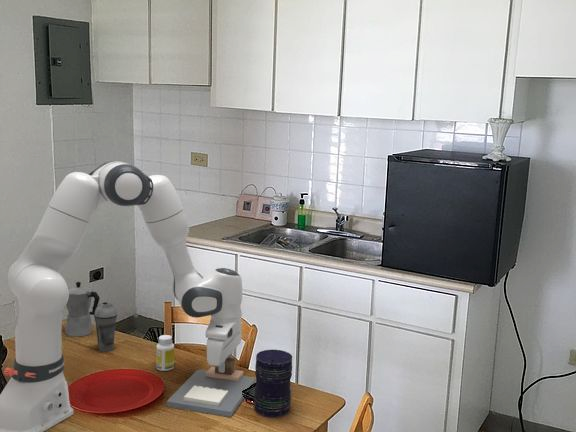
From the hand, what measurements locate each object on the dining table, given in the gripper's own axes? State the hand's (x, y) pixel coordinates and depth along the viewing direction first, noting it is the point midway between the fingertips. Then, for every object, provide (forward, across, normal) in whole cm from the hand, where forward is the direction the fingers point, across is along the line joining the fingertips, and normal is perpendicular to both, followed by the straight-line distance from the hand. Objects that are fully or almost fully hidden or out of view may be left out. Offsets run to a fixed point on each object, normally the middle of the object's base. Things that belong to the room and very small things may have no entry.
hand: (224, 368), depth 189 cm
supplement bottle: (+4, -2, -20) cm, 21 cm away
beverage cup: (+4, -10, -44) cm, 45 cm away
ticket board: (+4, +9, 0) cm, 10 cm away
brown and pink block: (+2, 0, 0) cm, 2 cm away
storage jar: (+4, +12, +18) cm, 22 cm away
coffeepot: (+4, -20, -59) cm, 62 cm away
